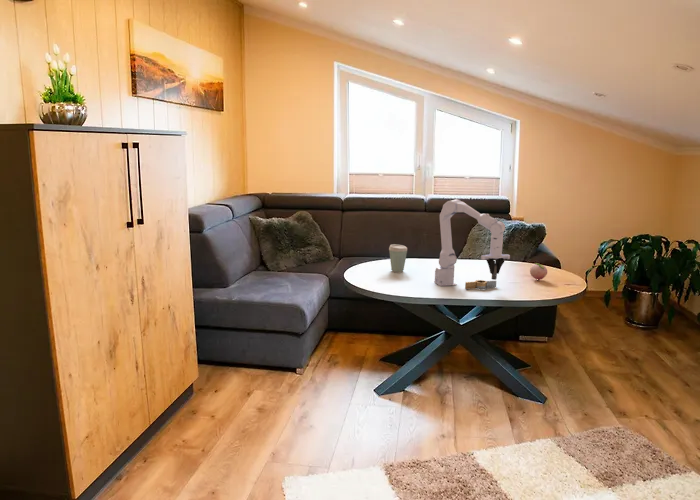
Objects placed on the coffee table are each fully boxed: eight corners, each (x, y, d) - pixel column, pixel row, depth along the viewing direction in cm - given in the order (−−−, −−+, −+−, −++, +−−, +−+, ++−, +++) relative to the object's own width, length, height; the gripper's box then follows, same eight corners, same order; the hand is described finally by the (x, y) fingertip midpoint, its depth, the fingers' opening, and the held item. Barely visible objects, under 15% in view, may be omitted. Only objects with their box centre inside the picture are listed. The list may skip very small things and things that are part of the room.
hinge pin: (492, 279, 274) (494, 264, 272) (490, 278, 276) (491, 262, 274) (497, 279, 274) (498, 263, 273) (494, 278, 277) (496, 262, 275)
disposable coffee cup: (406, 269, 320) (407, 244, 316) (406, 274, 309) (407, 247, 306) (388, 268, 321) (389, 243, 317) (387, 273, 310) (388, 247, 307)
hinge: (467, 290, 278) (468, 283, 278) (463, 287, 284) (463, 280, 283) (498, 288, 282) (498, 282, 282) (493, 285, 288) (493, 279, 287)
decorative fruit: (525, 278, 304) (527, 260, 302) (538, 277, 306) (539, 260, 304) (536, 283, 295) (537, 264, 293) (549, 282, 297) (550, 264, 295)
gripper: (486, 248, 266) (484, 275, 269) (513, 247, 270) (511, 274, 273) (479, 245, 273) (478, 272, 276) (506, 244, 277) (504, 271, 279)
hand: (494, 273), depth 275 cm, fingers closed on hinge pin, 2 cm apart
